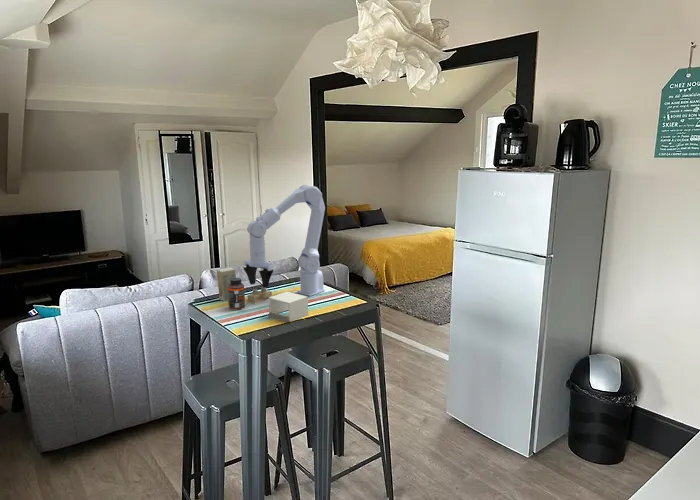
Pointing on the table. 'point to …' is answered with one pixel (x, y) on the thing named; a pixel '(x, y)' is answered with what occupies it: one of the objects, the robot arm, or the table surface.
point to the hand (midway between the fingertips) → (259, 285)
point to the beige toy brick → (259, 295)
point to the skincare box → (225, 282)
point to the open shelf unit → (288, 306)
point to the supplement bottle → (236, 294)
